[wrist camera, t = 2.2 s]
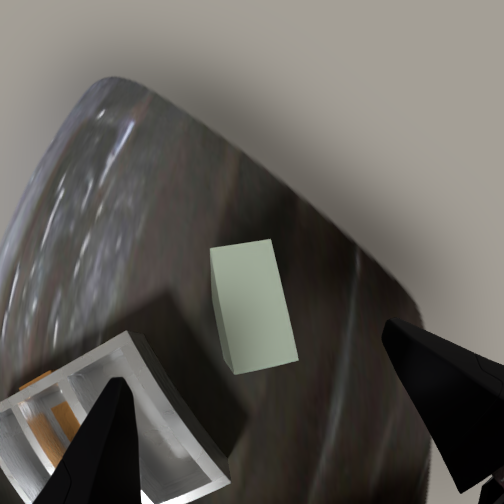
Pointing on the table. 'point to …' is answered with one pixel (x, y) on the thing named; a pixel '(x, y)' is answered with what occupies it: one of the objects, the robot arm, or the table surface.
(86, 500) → the robot arm
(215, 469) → the rack
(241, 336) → the pale green rectangular block
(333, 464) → the table surface
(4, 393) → the table surface
